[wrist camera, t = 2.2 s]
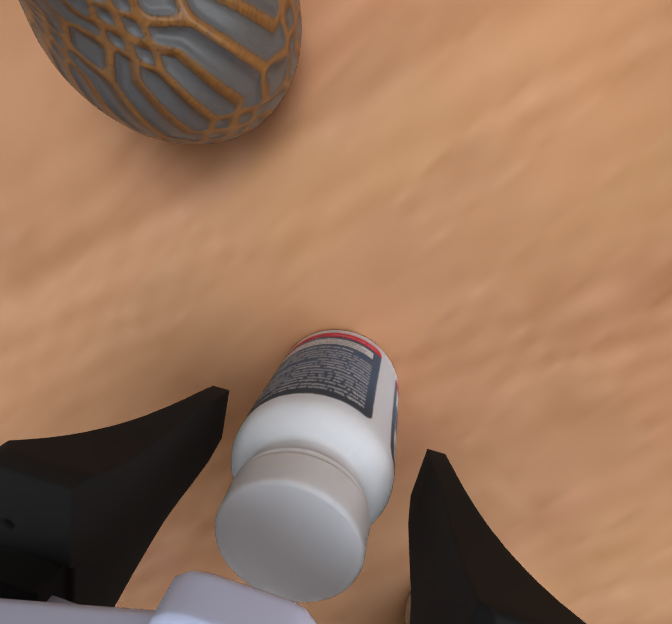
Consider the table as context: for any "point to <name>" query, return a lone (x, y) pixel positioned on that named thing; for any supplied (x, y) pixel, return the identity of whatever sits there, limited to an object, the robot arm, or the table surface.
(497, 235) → the table surface
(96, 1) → the vase
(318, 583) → the pill bottle
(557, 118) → the table surface
